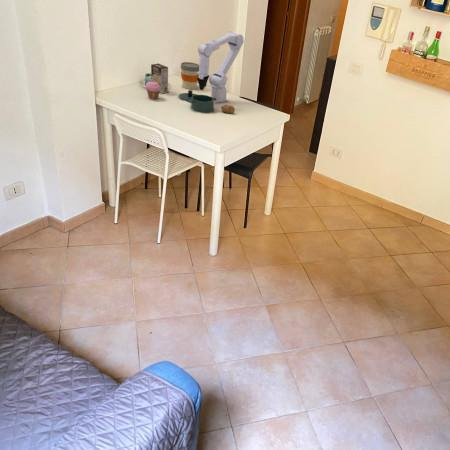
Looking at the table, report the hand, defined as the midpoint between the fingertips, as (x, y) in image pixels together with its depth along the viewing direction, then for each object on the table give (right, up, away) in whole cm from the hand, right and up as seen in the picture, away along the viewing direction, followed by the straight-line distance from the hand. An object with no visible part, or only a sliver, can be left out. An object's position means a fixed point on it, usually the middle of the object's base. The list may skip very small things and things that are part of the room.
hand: (202, 88), depth 268 cm
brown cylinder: (+16, -16, -2) cm, 22 cm away
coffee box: (-31, +2, +12) cm, 33 cm away
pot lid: (-10, -3, +9) cm, 14 cm away
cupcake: (-30, -7, -1) cm, 31 cm away
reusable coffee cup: (-15, +10, +29) cm, 34 cm away
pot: (0, -14, -3) cm, 14 cm away
